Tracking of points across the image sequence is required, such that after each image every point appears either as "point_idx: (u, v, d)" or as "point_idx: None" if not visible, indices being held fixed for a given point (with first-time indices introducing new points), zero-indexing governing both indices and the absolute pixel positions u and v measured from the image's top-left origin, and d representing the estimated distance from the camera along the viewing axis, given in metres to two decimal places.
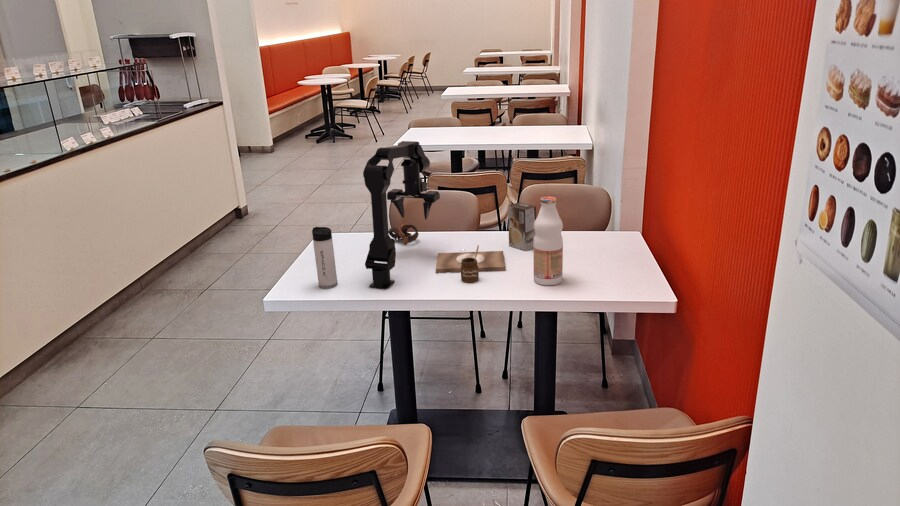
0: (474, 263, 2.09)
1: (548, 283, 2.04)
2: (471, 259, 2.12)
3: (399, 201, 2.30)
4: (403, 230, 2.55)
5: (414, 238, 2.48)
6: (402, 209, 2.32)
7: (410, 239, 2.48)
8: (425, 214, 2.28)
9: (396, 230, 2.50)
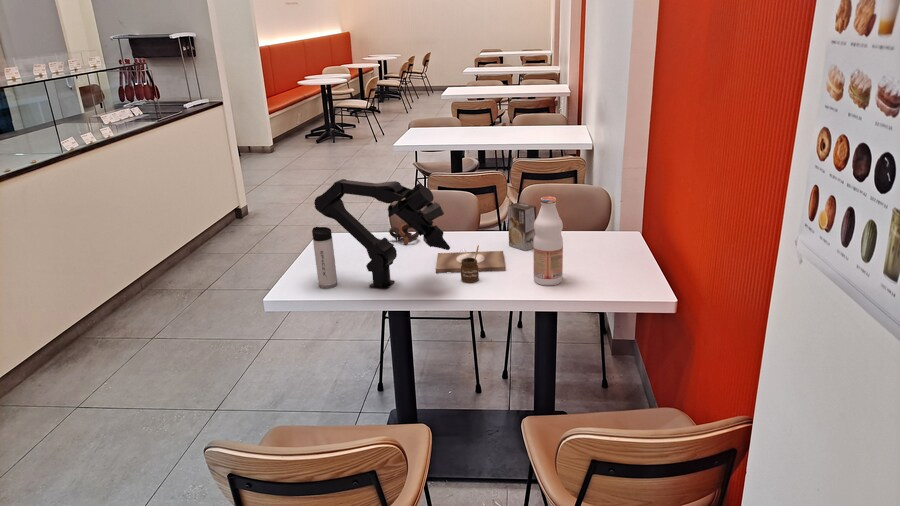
0: (474, 263, 2.09)
1: (548, 283, 2.04)
2: (471, 259, 2.12)
3: None
4: (404, 230, 2.55)
5: (415, 237, 2.49)
6: None
7: (411, 238, 2.48)
8: None
9: (397, 230, 2.50)
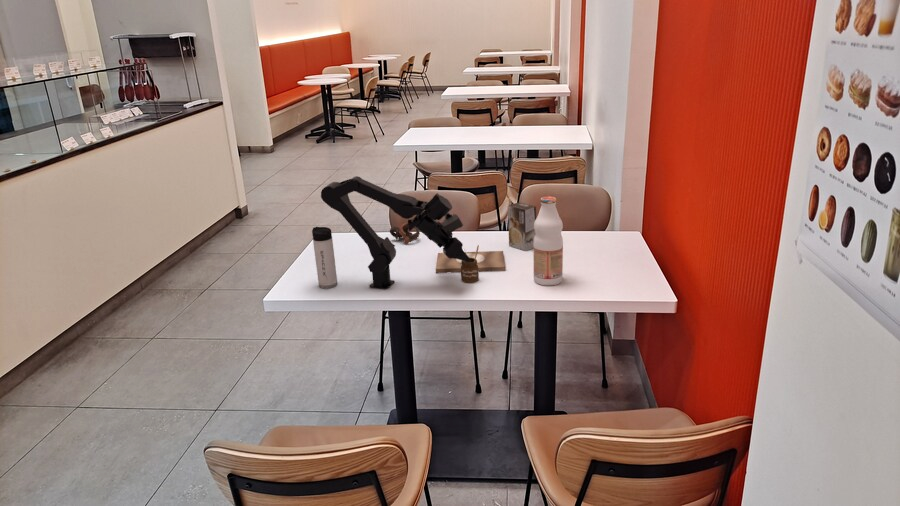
0: (474, 263, 2.09)
1: (548, 283, 2.04)
2: (471, 259, 2.12)
3: None
4: (404, 229, 2.56)
5: (415, 237, 2.49)
6: None
7: (411, 238, 2.49)
8: None
9: (397, 229, 2.51)
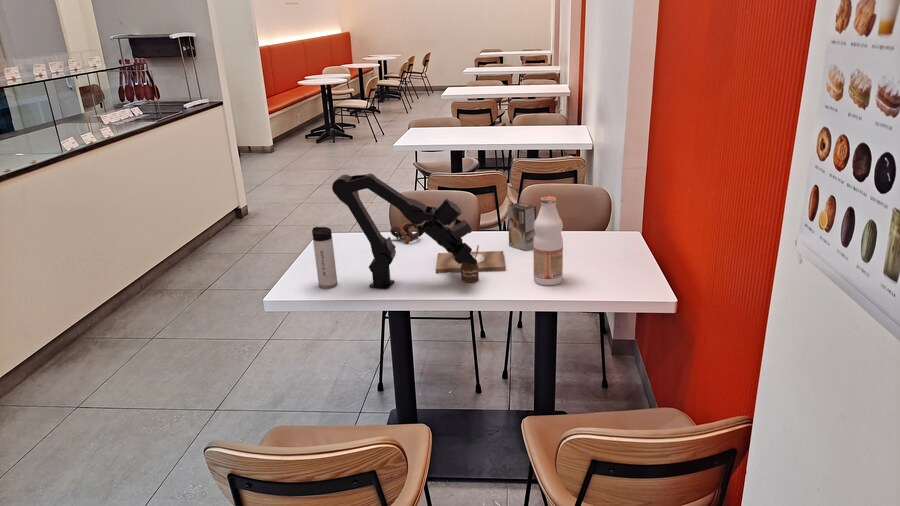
0: None
1: (548, 283, 2.04)
2: None
3: (455, 249, 2.11)
4: (405, 229, 2.56)
5: (416, 237, 2.50)
6: None
7: (412, 238, 2.49)
8: None
9: (398, 229, 2.51)
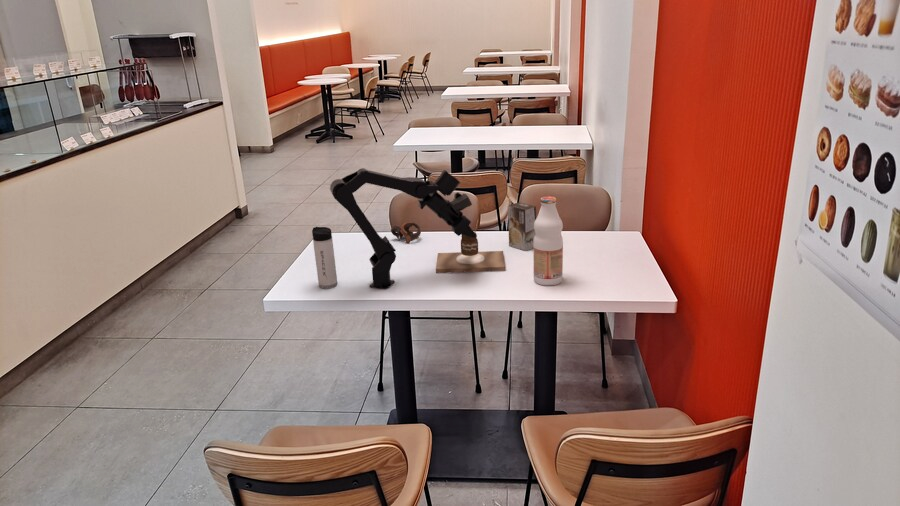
0: None
1: (548, 283, 2.04)
2: None
3: None
4: (405, 228, 2.57)
5: (417, 236, 2.51)
6: None
7: (413, 237, 2.50)
8: None
9: (398, 228, 2.52)
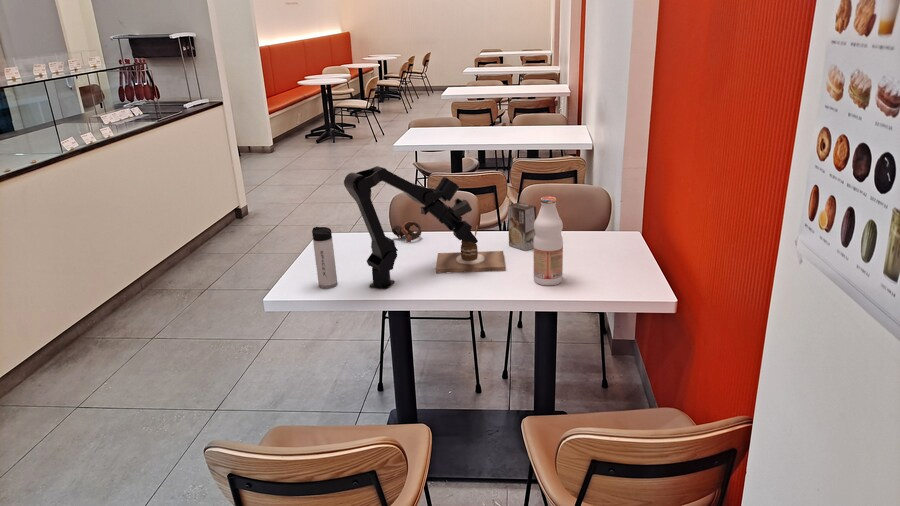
0: None
1: (548, 283, 2.04)
2: None
3: None
4: (406, 228, 2.57)
5: (417, 235, 2.51)
6: None
7: (413, 236, 2.50)
8: (470, 241, 2.19)
9: (399, 228, 2.53)
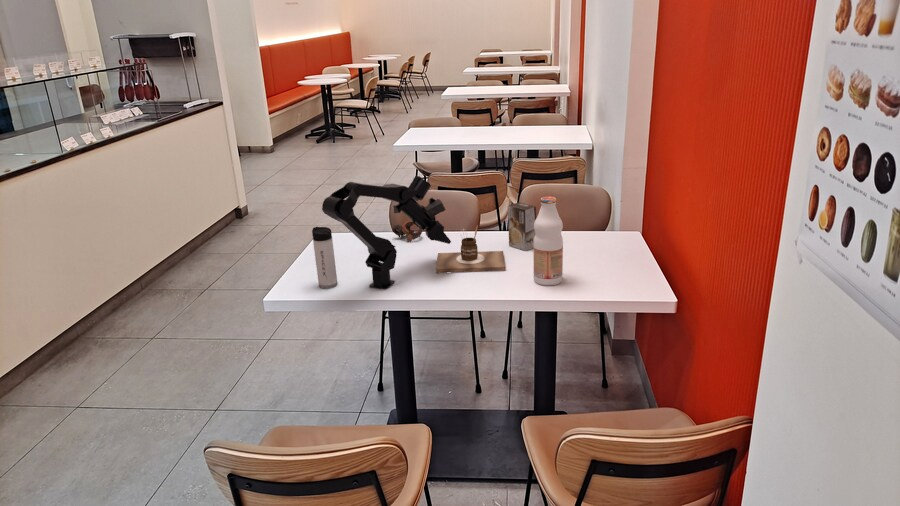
0: (473, 242, 2.22)
1: (548, 283, 2.04)
2: (471, 239, 2.25)
3: (429, 225, 2.23)
4: (406, 227, 2.58)
5: (418, 235, 2.52)
6: None
7: (414, 236, 2.51)
8: None
9: (400, 227, 2.53)
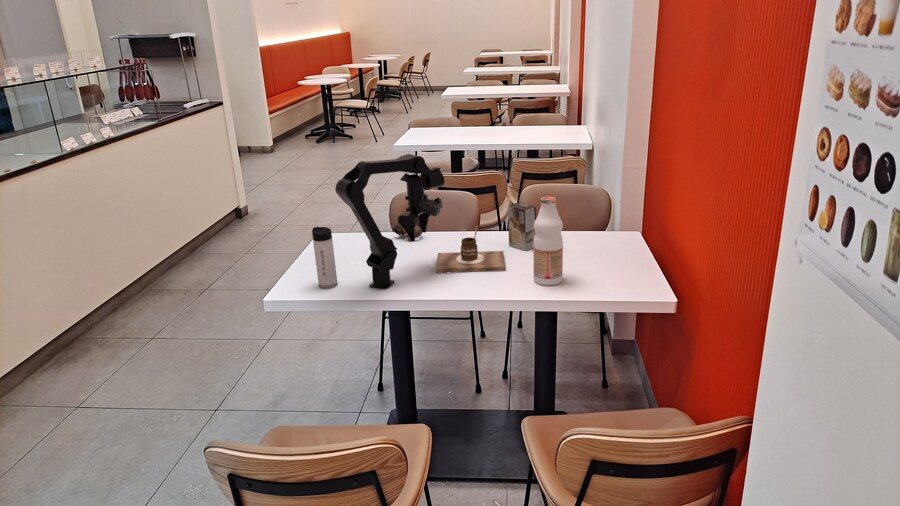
0: (473, 242, 2.22)
1: (548, 283, 2.04)
2: (471, 239, 2.25)
3: (421, 214, 2.19)
4: None
5: (419, 234, 2.53)
6: (423, 223, 2.20)
7: (415, 235, 2.52)
8: None
9: (401, 227, 2.54)
